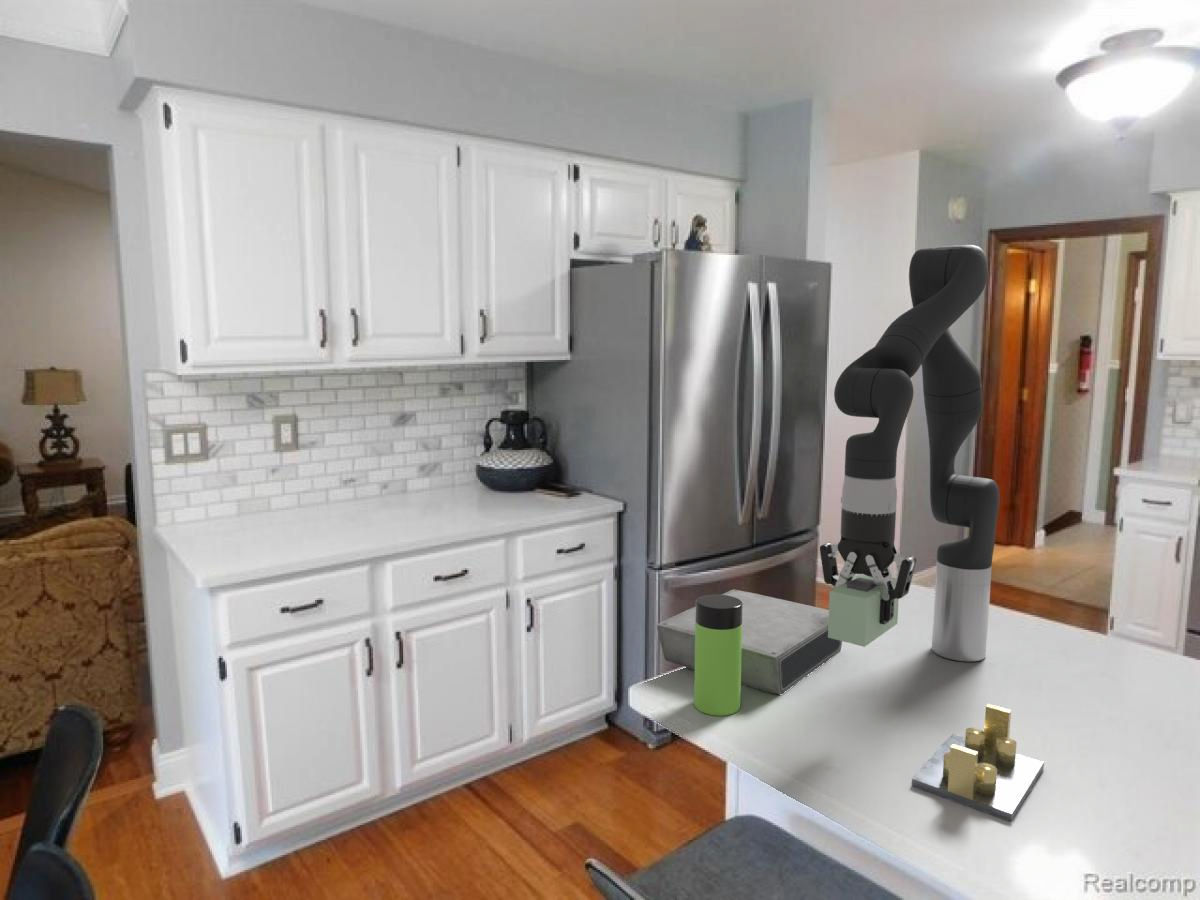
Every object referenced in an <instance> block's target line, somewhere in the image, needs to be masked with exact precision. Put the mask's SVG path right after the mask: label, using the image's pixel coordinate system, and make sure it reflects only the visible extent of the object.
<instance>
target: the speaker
mask: <svg viewBox="0 0 1200 900" xmlns="http://www.w3.org/2000/svg"><path fill="white" fill-rule="evenodd" d="M721 595H728V596H732V597H735V598H738V599H739V600H741V601H742V604H743V607H742V650H741V685H743V686H746V687H750V688H753V687H754V688H753V689H756V688H758V689H757V690H760V689H761V690H760V691H763V690H764V691H763V692H767V693H770V692H771V694H775V695H777V694H778V696H781V695H780V694H783V693H784V692H785V691H787V690H788V689H790V688H791V687H792V686H794V685H795V684H796V685H798V684H799V683H800V682H802V681H803V680H804V679H803V678H804V677H806V676H807V675H808V674H810V673H811V672H813V671H814V670H815V669H817V668H818V667H819V666H821V665H822V664H823V663H825V662H826V661H827V662H829V661H830V660H831V659H833V658H834V657H836V656H837V655H838V654H839V653H841V651H842V645H843V641H840V640H836V639H832V638H828V621H829V609H825V608H822V607H817V606H812V605H808V604H803V603H799V602H794V601H791V600H790V601H789V600H787V599H782V598H776V597H774V596H773V597H772V596H767V595H763V594H759V593H754V592H749V591H743V590H738V589H731V590H729V591H726V592H724V593H722V594H721ZM695 614H696V606H693V607H691V608H689V609H687V610H684V611H682V612H680V613H678V614H676V615H674V616H671V617H669V618H667V619H665V620H663V621H660V622H659V623H658V624H656V630H657V633H658V636H659V641H660V646H661V651H662V655H663V657H664V660H665V661H667V662H671V663H673V664H676V665H678V666H682V667H685V668H688V669H691V670H694V671H695ZM836 654H837V655H836ZM833 656H834V657H833ZM832 657H833V658H832ZM830 658H831V659H830ZM829 659H830V660H829ZM828 660H829V661H828ZM827 662H826V663H827ZM826 663H825V664H826ZM823 665H824V664H823ZM823 665H822V666H823ZM822 666H821V667H822ZM819 668H820V667H819ZM819 668H818V669H819ZM818 669H817V670H818ZM815 671H816V670H815ZM815 671H814V672H815ZM814 672H813V673H814ZM811 674H812V673H811ZM811 674H810V675H811ZM807 677H808V676H807ZM807 677H806V678H807ZM802 679H803V680H802ZM801 680H802V681H801ZM799 681H800V682H799ZM798 682H799V683H798ZM797 683H798V684H797ZM796 685H795V686H796ZM795 686H794V687H795ZM792 688H793V687H792ZM792 688H791V689H792ZM791 689H790V690H791ZM788 691H789V690H788ZM788 691H787V692H788ZM784 694H785V693H784ZM784 694H783V695H784Z"/></svg>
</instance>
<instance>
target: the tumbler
mask: <svg viewBox="0 0 1200 900" xmlns="http://www.w3.org/2000/svg"><path fill="white" fill-rule="evenodd" d="M695 607H696V614H695V670H694V683H693V684H694V685H693V688H694V689H693V690H694V691H693V693H694V694H693V695H694V696H693V698H694V699H693V705H694V707H695V708H696V709H697V710H698V711H699V712H701V713H704V714H707V715H711V716H717V717H720V716H721V717H724V716H730V715H733V714H735V713H737V712H738V711H739V710H740V708H741V691H742V688H741V686H742V684H741V650H742V607H743V604H742V601H741V600H739V599H738V598H735V597H732V596H728V595H722V594H718V593H717V594H713V593H712V594H707V595H706V594H705V595H702V596H699V597H697V599H696V600H695Z"/></svg>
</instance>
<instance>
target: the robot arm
mask: <svg viewBox="0 0 1200 900" xmlns="http://www.w3.org/2000/svg"><path fill="white" fill-rule="evenodd" d="M988 265H989V264H988V259H987V256H986V253H985V251H984V250H983V249H982V248H981V247H980V246H978V245H974V244H960V245H959V244H957V245H954V244H953V245H943V246H942V245H941V246H931V247H923V248H920V249H917V250H916V251H915V252H914V253H913V255H912V257H911V259H910V262H909V271H908V283H909V284H908V285H909V293H910V297H911V298H910V299H911V303H912V307H911V308H910V309H909V310H907V311H905V312H904V313H902V314H901V315H900V316H898V317H897V318H895V320H894V321H892V322H891V323H890V324H889V326H888V327H887V329H885V331H884V332H883V334H882V335H881V337H880V338H879V339H878V341H877V343H876V344H875V346H874V347H872V348H870V349H869V350H867V351H865V352H864V353H863V354H862V355H860V357H858V358H857V359H855V360H853V361H852V362H851V363H850V364H849V365H848V366H847V367H845V369H844V370H843V371H842V372H841V373H840V375H839V377H838V379H837V381H836V383H835V387H834V391H833V397H834V402H835V405H836V407H837V409H838V410H839V411H840V412H841V413H843V414H845V415H847V416H851V417H858V418H870V419H871V418H874V419H876V418H877V419H878V423H877V425H876V427H875V428H874V430H873V431H871V432H863V433H857V434H852V435H851V436H850V437H848V439H847V440H846V444H845V451H844V452H845V453H844V454H845V456H844V477H843V482H842V483H843V485H842V488H841V489H842V490H841V498H840V503H841V512H840V513H841V516H840V541H839V542H837V543H833V542H831V541H828V542H825V543H823V544H821V545H820V546H819V553H820V560H821V567H822V573H823V581H824V583H825V584H827V585H831V586H833V587H834V588H836V587H838V586H840V585H841V584H843V583H847V581H849V580H852V579H853V578H854V577H855V576H856V575H860V574H864V575H867V576H869V577H873V579H874V582H875V584H876V585H877V586H878V589H879V590H880V594H881V597H882V599H881V600H880V619H879V623H880V624H884V625H885V624H886V623H888V622H889V621H890V620H891V619H892V618H893V616H894V599H896V598H897V599H902V598H904V597H905V596H907V595H908V594H909V591H910V587H911V584H912V580H913V576H914V572H915V567H916V564H917V558H916V557H915V556H913V555H910V556H905V555H903V554H900V553H898V552H897V550H896V547H895V537H896V520H897V518H896V516H897V500H898V499H897V497H898V493H897V491H898V490H897V481H896V480H897V478H896V475H897V460H898V459H897V458H898V448H899V443H900V440H901V437H902V432H903V430H904V425H905V423H906V420H907V417H908V414H909V412H910V409H911V406H912V403H913V401H914V400H913V398H914V386H913V385H914V384H913V383H912V382H913V381H912V380H911V378H913V376H914V375H916V373H917V372H918V371H919V369H920V367H921V372H922V374H921V375H922V388H923V389H922V391H923V392H922V393H923V398H924V399H923V401H924V409H925V417H926V425H927V434H928V447H929V497H930V498H929V499H930V500H929V502H930V509H931V513H932V515H933V518H934V519H935V520H936V521H937V522H938V523H942V524H944V525H951V526H958V527H964V528H968V529H969V528H970V534H969V536H968V537H965V538H963V539H959V540H952V541H947V542H944V543H941V544H940V545H939V546H937V547H938V548H937V551H936V553H937V554H936V568H935V569H936V571H935V585H934V586H935V588H934V603H933V605H934V606H933V619H932V620H933V622H932V623H933V624H932V634H931V635H932V637H931V638H932V639H931V651H933V653H935V654H936V655H938V656H940V657H942V658H945V659H949V660H953V661H958V662H978V661H982V660H984V659H985V658H986V656H987V655H986V654H987V640H988V629H989V628H988V627H989V614H990V613H989V612H990V599H991V598H990V597H991V583H992V582H991V581H992V580H991V579H992V567H993V566H992V565H993V556H994V551H995V550H994V549H995V542H996V541H995V540H996V530H997V524H998V523H997V522H998V516H999V508H1000V490H999V489H1000V488H999V486H998V483H997V482H996V481H995V480H993V479H991V478H986V477H985V478H984V477H978V476H977V477H976V476H971V475H970V476H969V475H963V474H962V475H959V474H956V471H955V460H956V456H957V454H958V452H959V451H960V450H959V449H960V448H961V446H962V445H963V443H964V442H965V441H966V439H967V438H968V436H969V435H970V434H971V432H972V431H973V430H974V428H975V426H976V425H977V423H978V422H979V420H980V417H982V416H981V415H982V413H983V409H984V404H983V389H982V376H981V373H980V370H979V368H978V367H977V365H976V363H975V362H974V360H973V359H972V358H971V355H969V353H968V352H967V351H966V350H965V349H964V347H963V346H962V345H961V344H960V342H959V341H958V340H957V339H956V337H955V336H954V334H953V333H952V331H951V330H950V327H952V326H953V324H954V323H956V321H958V320H959V319H960V318H961V317H962V315H964V314H965V312H967V310H969V308H971V307H972V306H973V305H974V304H975V303H976V301H977V300H978V299H979V297H981V295H982V294H983V291H984V290H985V287H986V284H987V281H988V275H989V266H988ZM839 554H840V556H841V558H842V559H843V561H844V564H843V567H842V569H841V571H840V573H839V570H838V563H837V557H838V555H839ZM893 562H895V565H896V570H898V575H897V583H896V587H895V588H894V585H893V583H892V578H893V575H892V573H891V570H890V568H889V567H890V565H891V564H892V563H893Z"/></svg>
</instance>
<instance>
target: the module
mask: <svg viewBox="0 0 1200 900" xmlns="http://www.w3.org/2000/svg"><path fill="white" fill-rule="evenodd" d="M897 579H898V577H897V578H896V577H892V583H893V585H894V588H895V587H896V583H897ZM828 597H829V598H828V599H829V601H828V610H829V621H828V638H832V639H836V640H840V641H842V642H844V643H849V644H852V645H857V646H860V647H863V648H865V647H867V646H868V645H870V644H871V643H873V641H875V640H877V639H878V638H879V637H881V636H883V635H884V634H885V633H887V632H888V631H889V630H890V629H892V628H893V627H895V626H896V625H898V619H899V599H897V598H896V599H894V616H893V618H892V619H891V620H890V621H889V622H888V623H886V624H885V625H884V624H880V623H879V619H880V600H881V599H882V597H881V594H880V590H879V589H878V586H877V585H876V584H875V582H874V579H873V577H869V576H867V575H864V574H857V575H855V576H854V577H853V579H852V580H849V581H847V583H843V584H841V585H840V586H838V587H836V588H835V587H834V588H832V589H830V590H829V596H828Z"/></svg>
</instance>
